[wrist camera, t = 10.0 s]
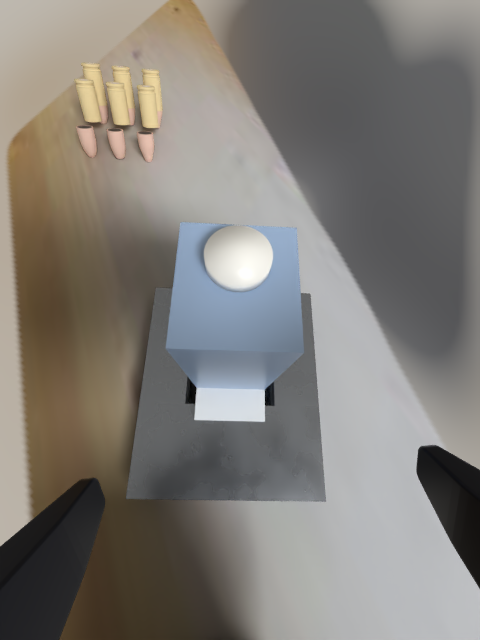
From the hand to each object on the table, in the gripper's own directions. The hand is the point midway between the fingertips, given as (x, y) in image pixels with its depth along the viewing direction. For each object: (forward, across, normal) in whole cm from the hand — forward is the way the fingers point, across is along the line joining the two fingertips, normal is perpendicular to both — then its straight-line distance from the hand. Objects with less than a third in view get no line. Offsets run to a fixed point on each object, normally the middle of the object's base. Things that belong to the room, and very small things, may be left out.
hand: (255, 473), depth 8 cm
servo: (+14, +2, +3) cm, 14 cm away
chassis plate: (+12, +2, +5) cm, 13 cm away
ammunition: (+29, +10, -17) cm, 35 cm away
